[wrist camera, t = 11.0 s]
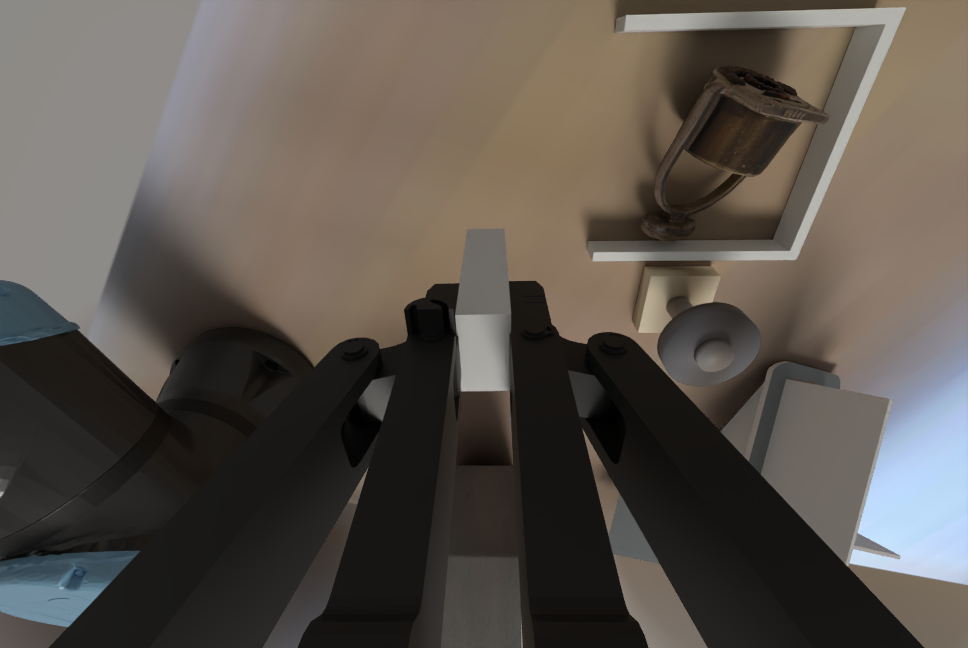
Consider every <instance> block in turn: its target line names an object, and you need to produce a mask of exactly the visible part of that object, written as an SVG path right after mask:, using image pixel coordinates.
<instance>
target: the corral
mask: <svg viewBox="0 0 968 648" xmlns="http://www.w3.org/2000/svg"><path fill="white" fill-rule="evenodd" d="M905 10H906V7H904V8H867V9H830V10H794V11H757V12H720V13H684V14H647V15H625V16H622V17H619V18H617V19H616V27H615V33H636V32H675V31H714V30H753V29H792V28H831V27H856V28H855V31H854V33H853V36H852V38H851V41H850V43H849V46H848V49H847V51H846V54H845V56H844V59H843V61H842V64H841V66H840V69H839V72H838V74H837V77H836V79H835V82H834V84H833V87H832V90H831V92H830V95H829V97H828V100H827V102H826V105H825V107H824V110H823V112H825V113H827V114H828V115H830V117H829V119H828V122H826V123H825V124H824V125H822V124H818V125H817V128H816V130H815V133H814V136H813V138H812V141H811V143H810V146H809V148H808V151H807V153H806V156H805V159H804V161H803V164H802V166H801V169H800V171H799V174H798V176H797V179H796V182H795V184H794V187H793V189H792V192H791V194H790V197H789V199H788V202H787V205H786V207H785V210H784V212H783V215H782V217H781V220H780V222H779V225H778V228H777V230H776V233H775V235H774V238H773V240H677V241H588V246H587V251H588V253H589V255H590V257H591V259H592V261H701V260H796V259H797V257H798V255H799V252H800V250H801V248H802V245H803V243H804V241H805V238H806V236H807V234H808V232H809V229H810V227H811V225H812V222H813V220H814V218H815V216H816V213H817V211H818V209H819V206H820V204H821V202H822V200H823V197H824V195H825V193H826V190H827V188H828V186H829V184H830V181H831V179H832V177H833V174H834V172H835V170H836V168H837V165H838V163H839V161H840V158H841V156H842V154H843V152H844V149H845V147H846V145H847V142H848V140H849V138H850V136H851V133H852V131H853V129H854V126H855V124H856V122H857V120H858V117H859V115H860V113H861V110H862V108H863V106H864V104H865V101H866V99H867V97H868V94H869V92H870V90H871V87H872V85H873V83H874V81H875V78H876V76H877V74H878V71H879V69H880V67H881V65H882V62H883V60H884V58H885V55H886V53H887V51H888V49H889V46H890V44H891V42H892V39H893V37H894V35H895V33H896V30H897V28H898V26H899V23H900V21H901V19H902V17H903V14H904V12H905Z"/></svg>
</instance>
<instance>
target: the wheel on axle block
mask: <svg viewBox="0 0 968 648" xmlns="http://www.w3.org/2000/svg"><path fill="white" fill-rule="evenodd" d="M720 277H721V275H719V274H718V273H717V272H716V271H715V270H714V269H713V268H712V267H711V266H644V270H643V274H642V279H641V284H640V288H639V293H638V297H637V302H636V307H635V311H634V316H633V321H632V322H633V324H634V326H635V328H636V330H637V332H638V333H661V334H660V337H659V339H658V344H657V350H658V355H659V357H660V359H661V361H662V363H663V365H664V367H665V368H666V370H667V372H668V374H669V375H670V376H671V377H672V378H673V379H675V380H676V381H678V382H680V383H682V384H685V385H689V386H710V385H715V384H718V383H722V382H724V381H727V380H729V379H731V378H733V377H735V376H736V375H738V374H739V373H741V372H742V371H743V370H745V369H746V368H747V367H748V366H749V365H750V364H751V363H752V361H753V360H754V358H755V357H756V355H757V353H758V351H759V348H760V343H761V337H760V333H759V330H758V328H757V327H756V325H755V324H754V323H753V322H752V321H751V320H750V319H749V318H748V317H747V316H746V315H745V314H744V313H743V312H742V311H741V310H740V309H738V308H737V307H735V306H733V305H730V304H726V303H719V302H712V301H713V298H714V295H715V292H716V289H717V286H718V283H719V280H720Z"/></svg>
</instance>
